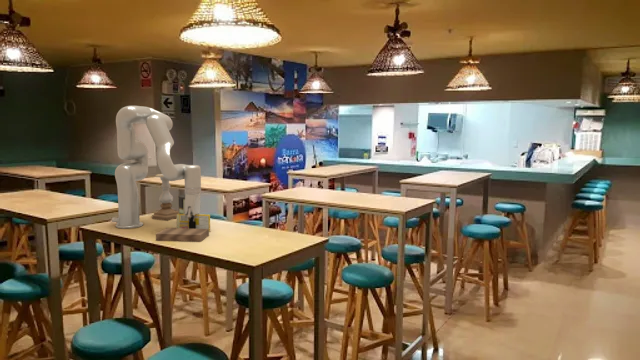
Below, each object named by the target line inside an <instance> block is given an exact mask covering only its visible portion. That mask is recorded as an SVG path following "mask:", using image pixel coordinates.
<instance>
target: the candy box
mask: <svg viewBox="0 0 640 360" xmlns="http://www.w3.org/2000/svg"><path fill="white" fill-rule="evenodd" d="M191 215H192V214H191ZM187 216H188V215H185V214H177V218H176V228H189V219H188V218H187ZM191 217H193V216H191ZM195 221H196V229H209V233H210V232H211V214H200V213H199V214H196V215H195Z"/></svg>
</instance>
